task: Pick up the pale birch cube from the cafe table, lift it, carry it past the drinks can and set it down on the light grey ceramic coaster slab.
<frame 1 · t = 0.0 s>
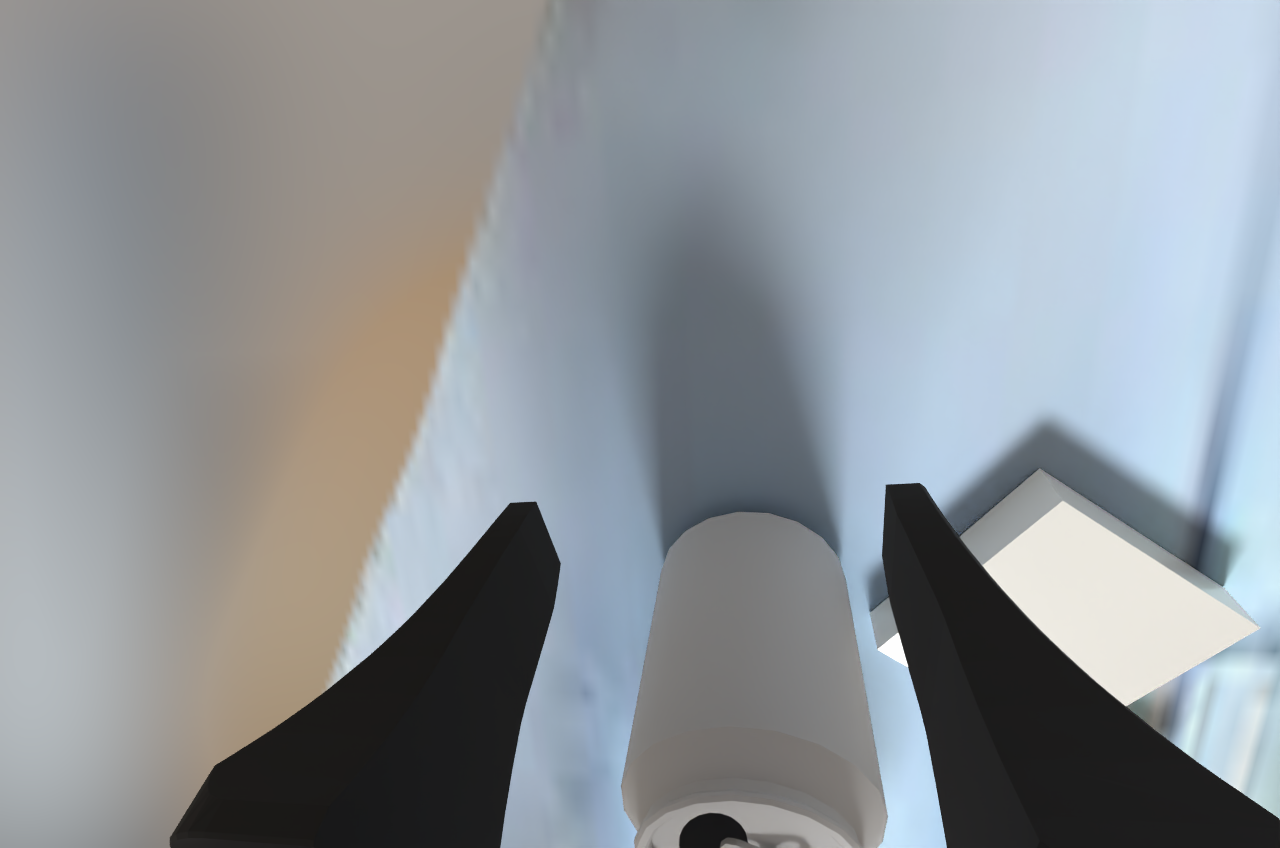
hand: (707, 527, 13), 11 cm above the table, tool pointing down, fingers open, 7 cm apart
can: (751, 567, 28), on the table
coaster: (1036, 601, 26), on the table
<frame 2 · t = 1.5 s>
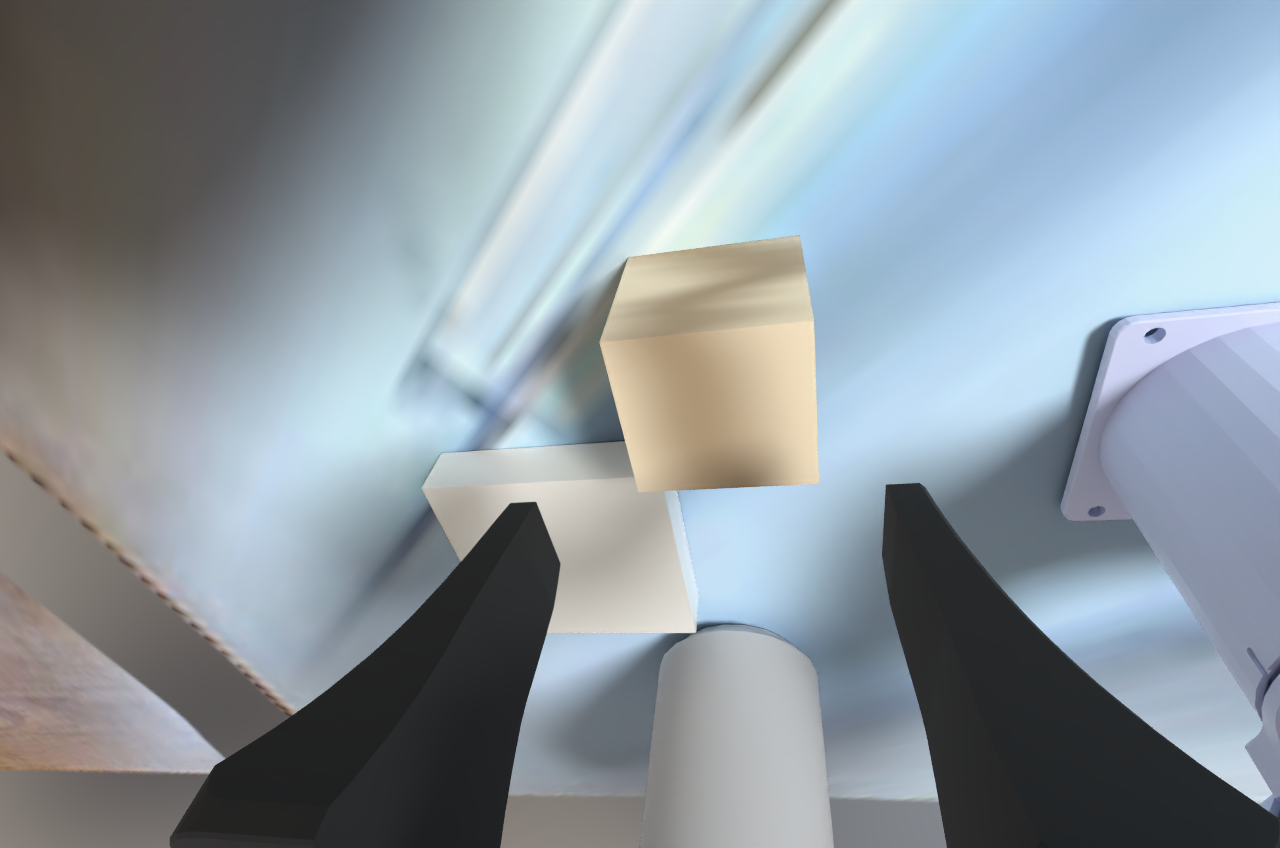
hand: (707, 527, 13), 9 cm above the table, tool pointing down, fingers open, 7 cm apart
can: (737, 656, 32), on the table
coaster: (578, 528, 27), on the table
cube: (721, 320, 20), on the table
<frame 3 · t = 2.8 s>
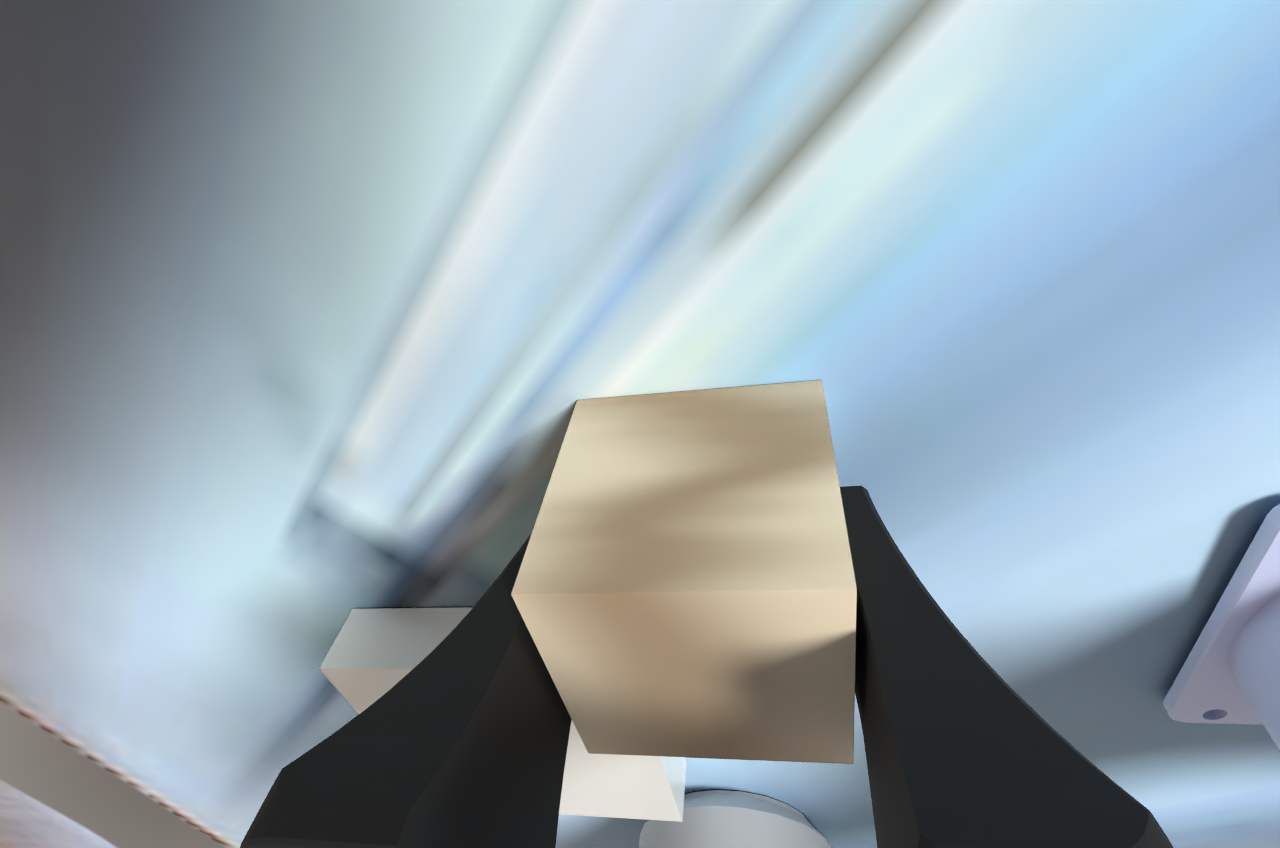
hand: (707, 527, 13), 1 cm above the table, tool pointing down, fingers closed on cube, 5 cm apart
can: (735, 817, 26), on the table
coaster: (532, 690, 21), on the table
cube: (709, 480, 15), on the table, touching gripper
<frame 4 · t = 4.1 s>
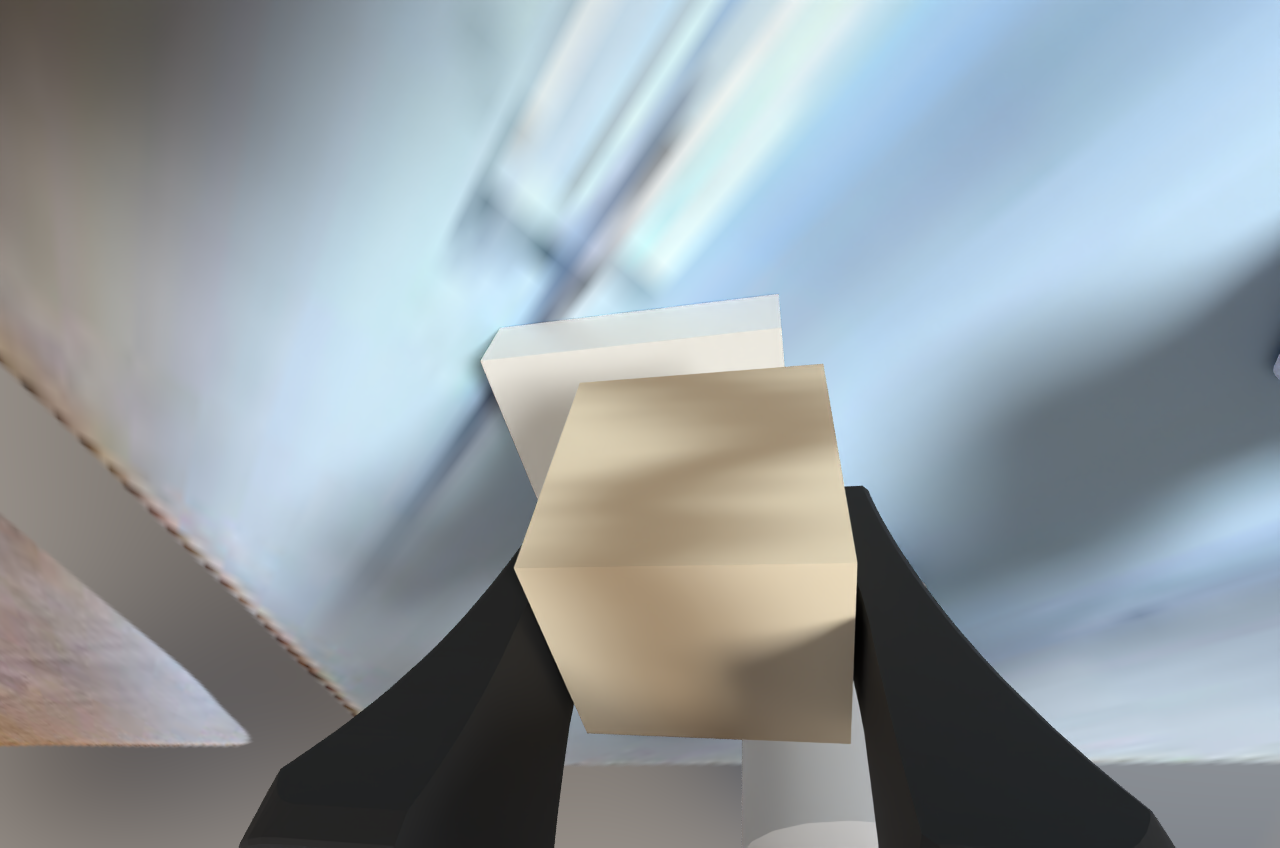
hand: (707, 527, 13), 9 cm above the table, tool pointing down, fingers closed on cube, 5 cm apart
can: (832, 588, 27), on the table
coaster: (658, 424, 23), on the table
cube: (710, 465, 15), point 7 cm above the table, touching gripper
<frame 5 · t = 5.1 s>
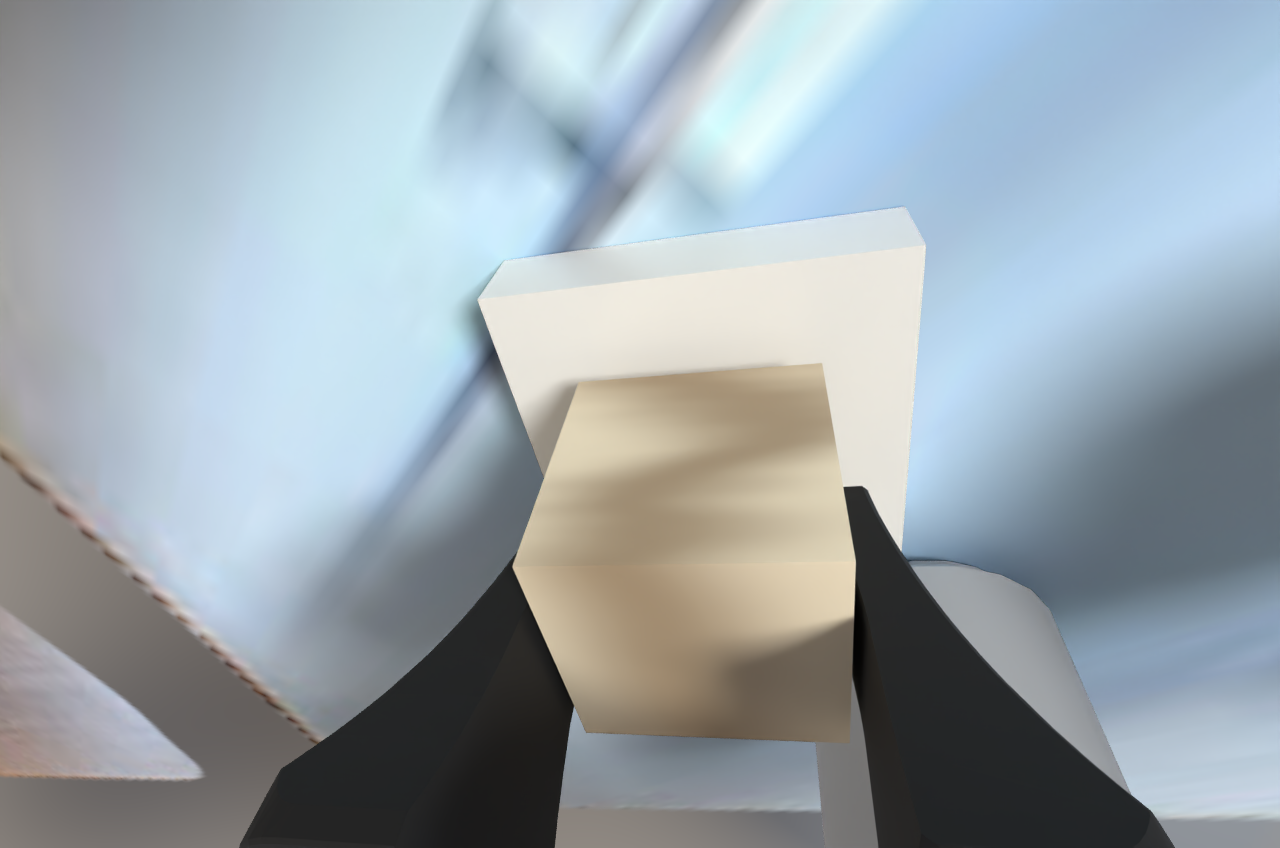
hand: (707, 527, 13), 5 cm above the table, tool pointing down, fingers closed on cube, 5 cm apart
can: (917, 612, 22), on the table
coaster: (714, 397, 17), on the table
cube: (709, 464, 15), point 3 cm above the table, touching gripper
when the fingers open (5 cm above the table, at t = 5.6 s): cube stays where it is, resting on coaster.
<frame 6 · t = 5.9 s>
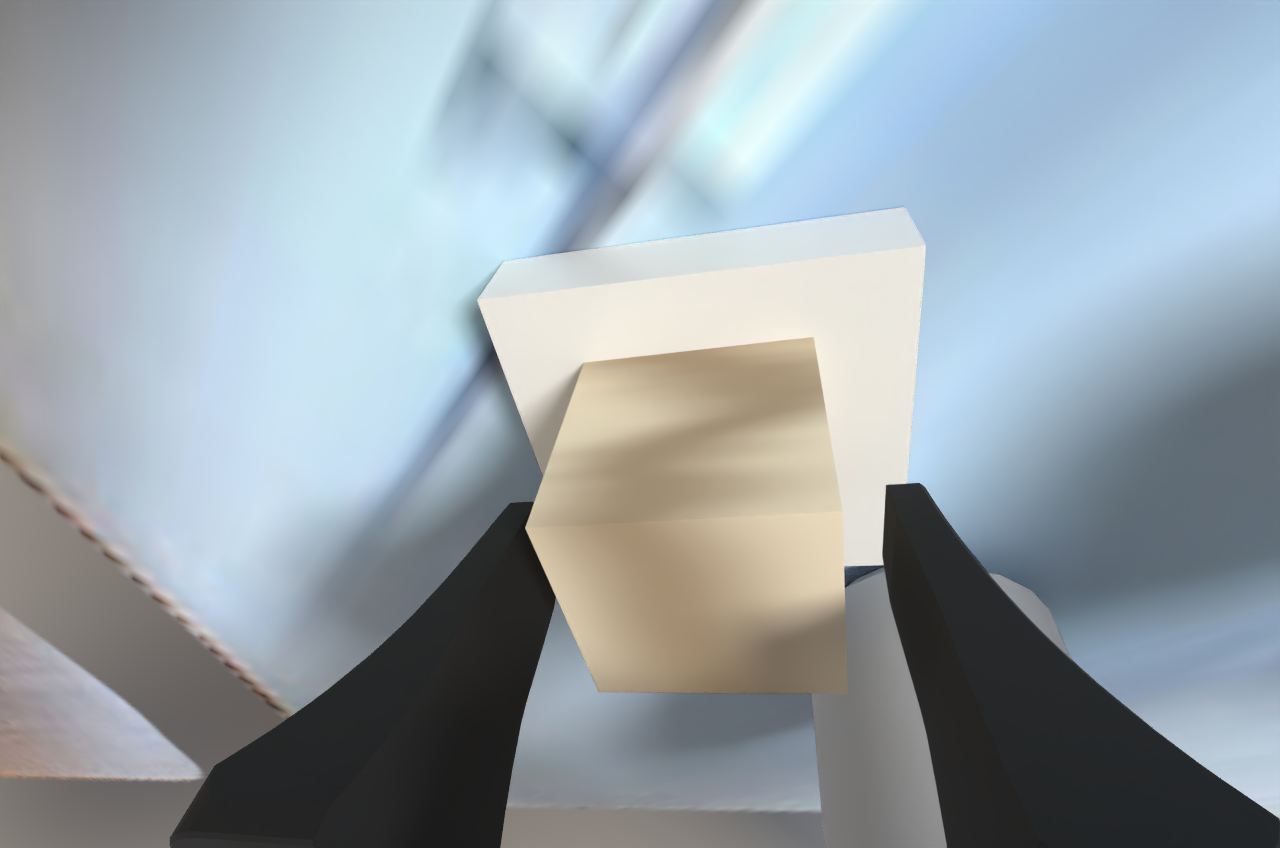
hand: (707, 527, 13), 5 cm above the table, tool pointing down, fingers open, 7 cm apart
can: (917, 612, 22), on the table
coaster: (714, 398, 17), on the table
cube: (710, 439, 15), point 2 cm above the table, touching coaster
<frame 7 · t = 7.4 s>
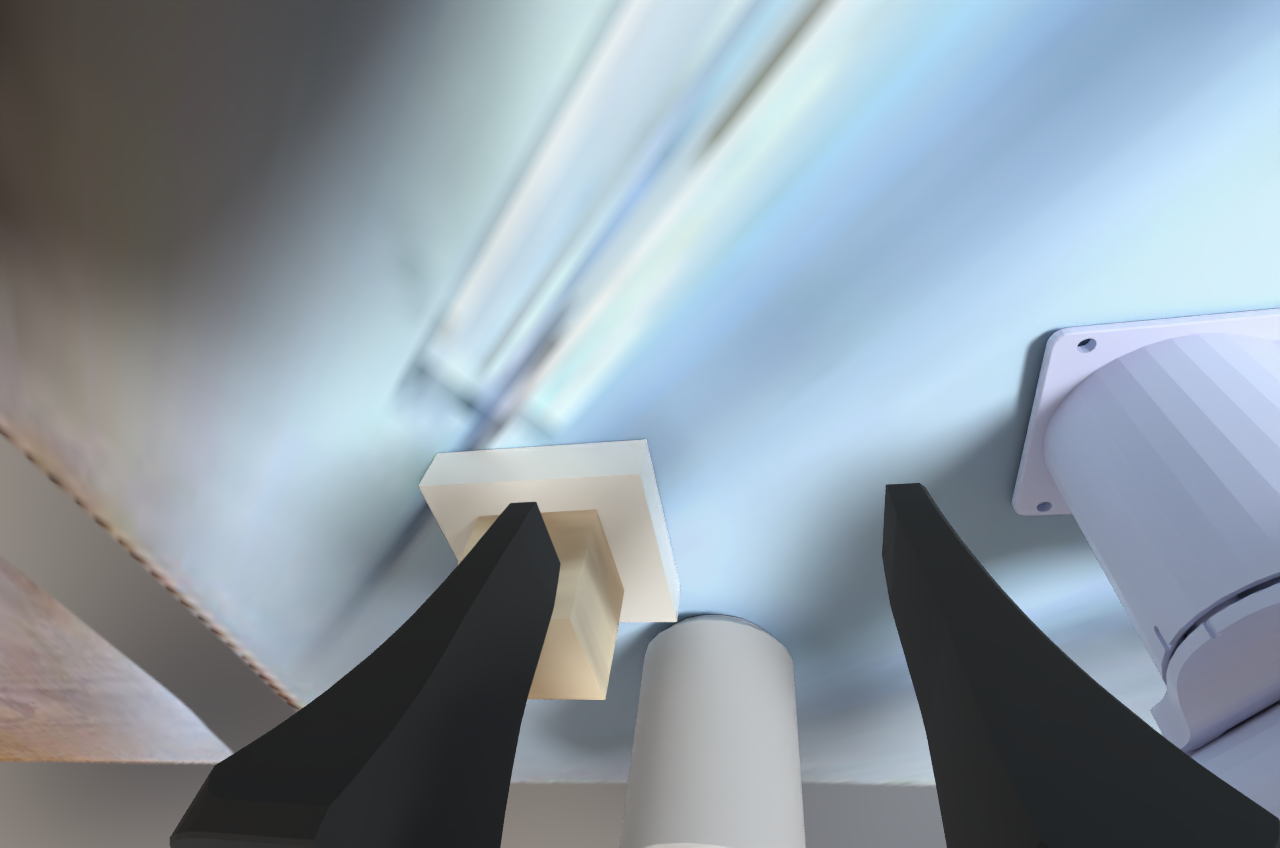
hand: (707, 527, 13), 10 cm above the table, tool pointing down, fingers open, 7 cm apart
can: (718, 645, 34), on the table
coaster: (565, 523, 29), on the table
cube: (554, 554, 27), point 2 cm above the table, touching coaster
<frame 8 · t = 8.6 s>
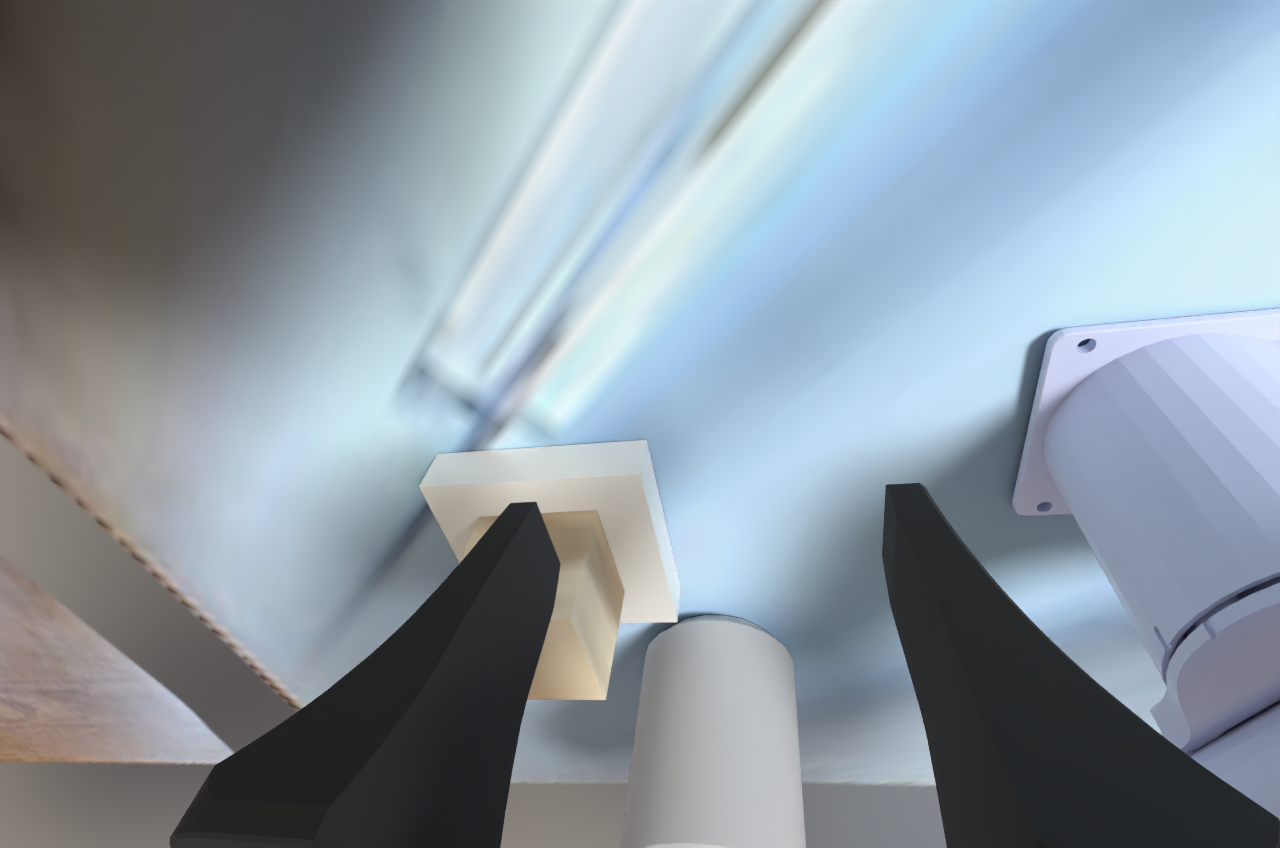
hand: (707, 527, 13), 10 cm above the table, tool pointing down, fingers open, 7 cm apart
can: (719, 645, 34), on the table
coaster: (566, 523, 29), on the table
cube: (554, 555, 27), point 2 cm above the table, touching coaster
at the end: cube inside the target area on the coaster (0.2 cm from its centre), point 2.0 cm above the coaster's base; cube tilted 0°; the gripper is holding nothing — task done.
